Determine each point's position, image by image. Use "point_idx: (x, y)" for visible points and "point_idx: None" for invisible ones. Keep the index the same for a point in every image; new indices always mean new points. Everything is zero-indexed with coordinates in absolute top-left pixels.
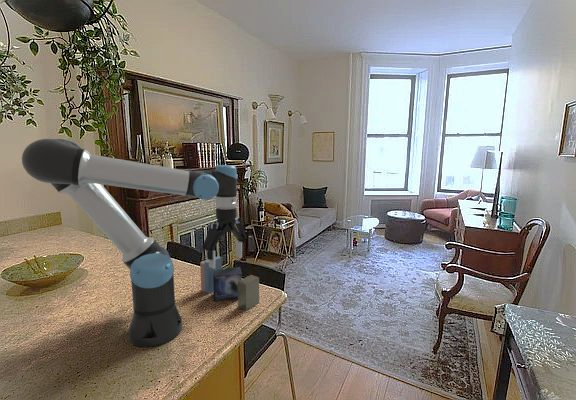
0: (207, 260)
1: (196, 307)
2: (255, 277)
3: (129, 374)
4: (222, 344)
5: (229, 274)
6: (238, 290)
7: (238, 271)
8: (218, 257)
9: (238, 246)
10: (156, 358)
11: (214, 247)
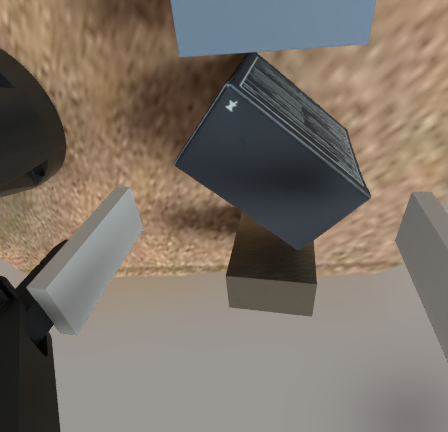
0: None
1: (137, 93)
2: (303, 307)
3: None
4: (124, 265)
5: (247, 214)
6: (232, 250)
7: (306, 230)
8: (350, 11)
9: (445, 305)
10: (2, 203)
11: (48, 365)
